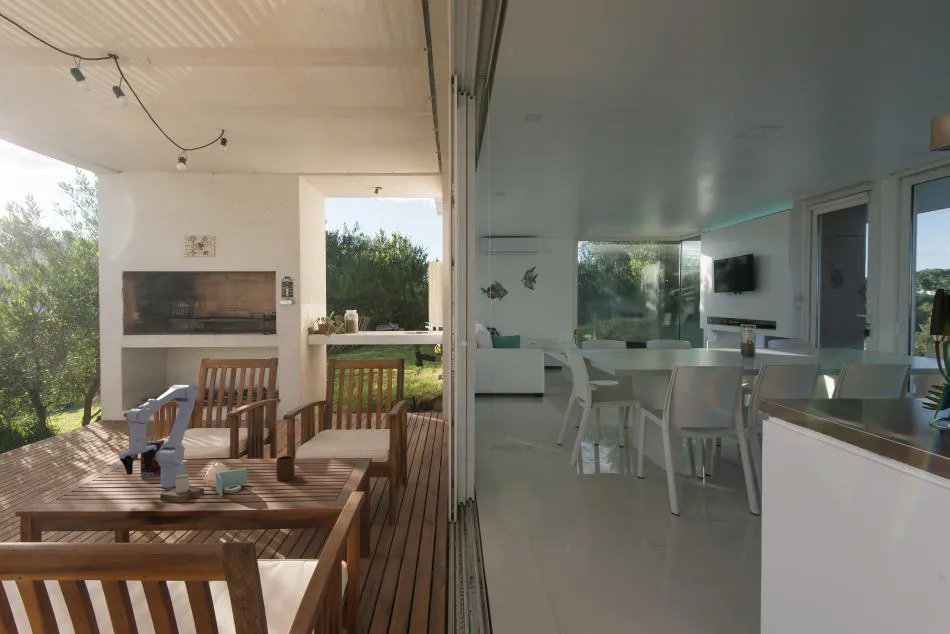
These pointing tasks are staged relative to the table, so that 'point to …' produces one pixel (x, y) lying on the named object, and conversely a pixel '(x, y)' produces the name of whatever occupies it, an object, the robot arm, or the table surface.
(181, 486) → the beige rectangular block
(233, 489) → the l-shaped corner panel
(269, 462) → the table surface
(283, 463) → the mug
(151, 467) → the supplement box
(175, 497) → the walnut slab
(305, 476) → the table surface
